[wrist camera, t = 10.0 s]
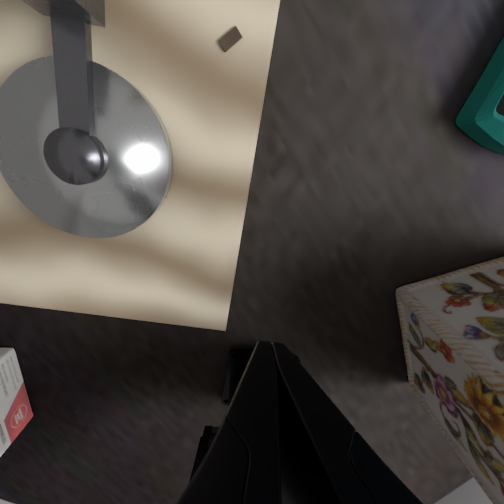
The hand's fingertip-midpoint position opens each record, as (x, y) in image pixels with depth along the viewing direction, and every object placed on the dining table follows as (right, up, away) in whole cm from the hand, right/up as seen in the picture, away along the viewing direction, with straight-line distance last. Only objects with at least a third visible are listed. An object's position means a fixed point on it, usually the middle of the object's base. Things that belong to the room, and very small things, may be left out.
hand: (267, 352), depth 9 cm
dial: (-10, +11, +7) cm, 17 cm away
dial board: (-11, +10, +10) cm, 17 cm away
